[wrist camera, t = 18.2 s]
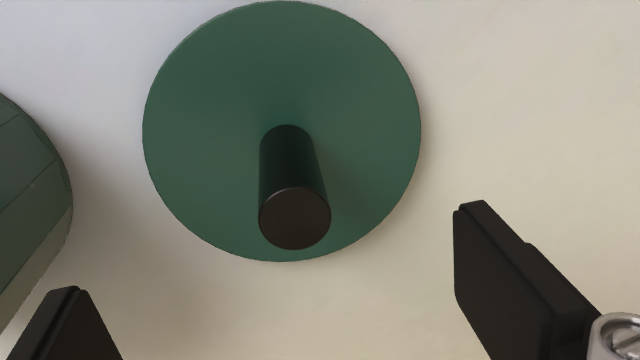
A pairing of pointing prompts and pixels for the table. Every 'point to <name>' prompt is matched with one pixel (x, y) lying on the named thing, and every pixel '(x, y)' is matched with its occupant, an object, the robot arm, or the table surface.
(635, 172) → the table surface
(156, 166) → the lid
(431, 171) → the table surface
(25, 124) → the tin
